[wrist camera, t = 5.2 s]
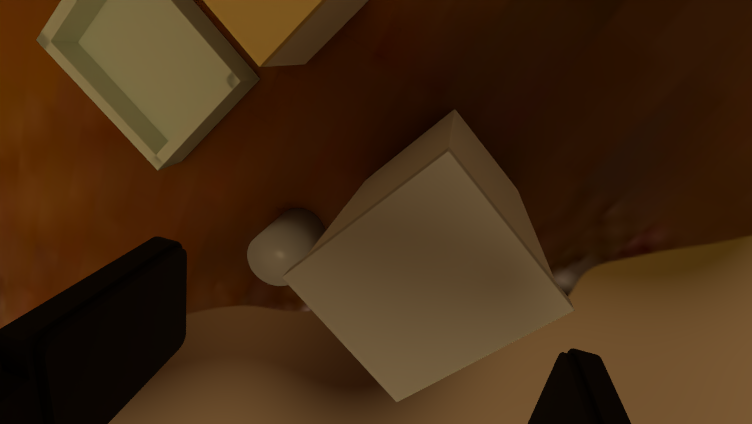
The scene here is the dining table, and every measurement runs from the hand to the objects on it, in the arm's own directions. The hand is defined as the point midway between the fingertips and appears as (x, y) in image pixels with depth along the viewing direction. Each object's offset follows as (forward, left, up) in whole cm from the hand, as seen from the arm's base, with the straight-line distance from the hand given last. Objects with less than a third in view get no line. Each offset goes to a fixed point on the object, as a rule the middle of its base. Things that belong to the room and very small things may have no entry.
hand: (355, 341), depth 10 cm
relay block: (-12, 0, -21) cm, 24 cm away
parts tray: (-17, -11, -21) cm, 29 cm away
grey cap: (-1, -12, -21) cm, 24 cm away
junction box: (+2, -1, -21) cm, 21 cm away
